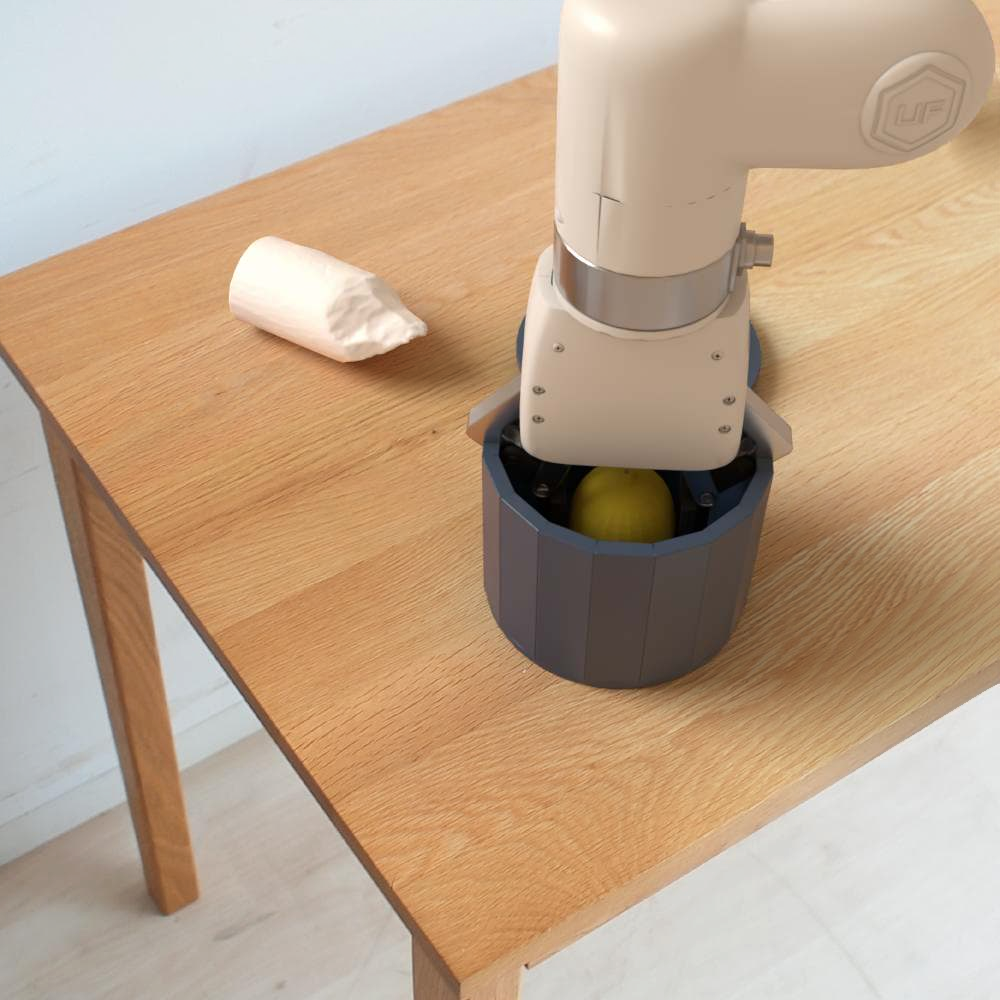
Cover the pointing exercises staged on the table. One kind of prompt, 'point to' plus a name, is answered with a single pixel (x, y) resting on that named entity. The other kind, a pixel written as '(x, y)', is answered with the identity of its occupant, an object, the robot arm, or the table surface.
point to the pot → (617, 582)
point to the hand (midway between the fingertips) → (620, 531)
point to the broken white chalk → (319, 301)
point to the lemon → (623, 506)
